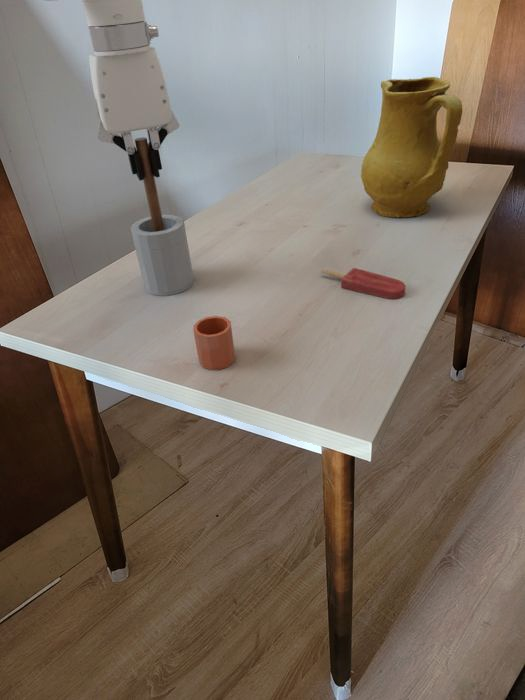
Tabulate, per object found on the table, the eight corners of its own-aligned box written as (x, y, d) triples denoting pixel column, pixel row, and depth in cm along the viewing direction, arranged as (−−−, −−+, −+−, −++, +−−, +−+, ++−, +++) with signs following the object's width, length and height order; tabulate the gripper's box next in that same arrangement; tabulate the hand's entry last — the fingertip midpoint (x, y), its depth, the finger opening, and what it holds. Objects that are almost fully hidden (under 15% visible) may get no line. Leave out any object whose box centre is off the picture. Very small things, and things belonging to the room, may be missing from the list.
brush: (154, 262, 89) (128, 140, 77) (163, 256, 91) (138, 136, 79) (167, 264, 88) (142, 141, 76) (175, 258, 90) (152, 136, 78)
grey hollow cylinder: (135, 291, 90) (120, 232, 84) (162, 269, 97) (150, 212, 90) (176, 299, 87) (164, 237, 81) (202, 275, 93) (193, 217, 87)
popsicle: (327, 260, 90) (410, 280, 83) (327, 269, 91) (409, 290, 84) (314, 271, 87) (398, 293, 80) (314, 280, 89) (397, 303, 81)
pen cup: (192, 365, 72) (186, 332, 68) (210, 345, 75) (205, 313, 72) (224, 373, 70) (219, 339, 66) (241, 352, 73) (237, 319, 70)
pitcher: (424, 187, 120) (436, 67, 105) (457, 221, 106) (477, 87, 90) (351, 198, 120) (352, 78, 104) (375, 233, 105) (380, 101, 90)
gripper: (171, 31, 75) (191, 161, 86) (59, 45, 71) (94, 179, 82) (183, 34, 69) (203, 173, 80) (61, 49, 65) (99, 193, 76)
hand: (148, 175), depth 81 cm, fingers closed on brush
